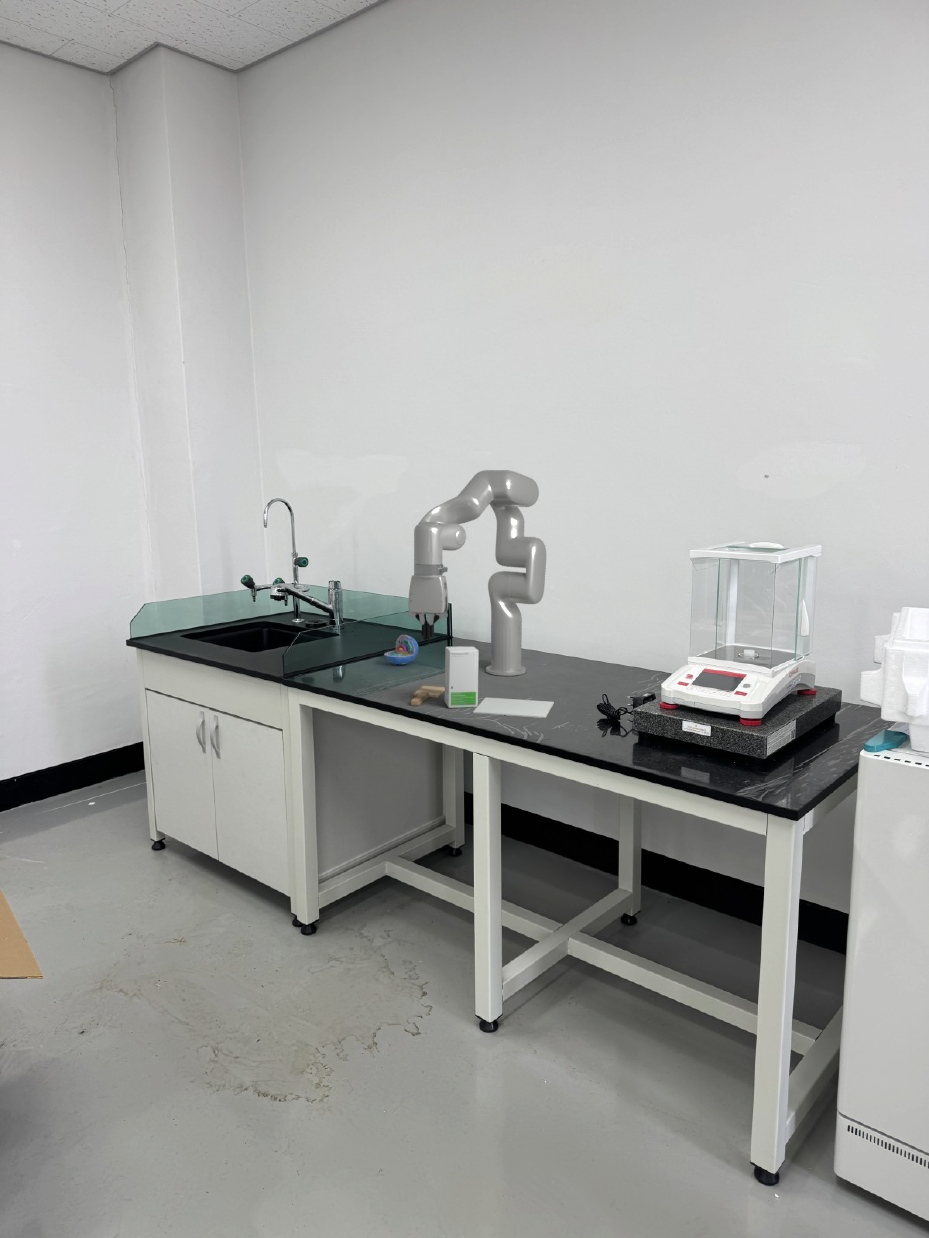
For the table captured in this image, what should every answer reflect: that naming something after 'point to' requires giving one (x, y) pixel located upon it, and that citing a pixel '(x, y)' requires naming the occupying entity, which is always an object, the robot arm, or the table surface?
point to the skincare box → (461, 677)
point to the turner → (426, 693)
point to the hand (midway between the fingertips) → (427, 638)
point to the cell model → (403, 650)
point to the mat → (514, 707)
